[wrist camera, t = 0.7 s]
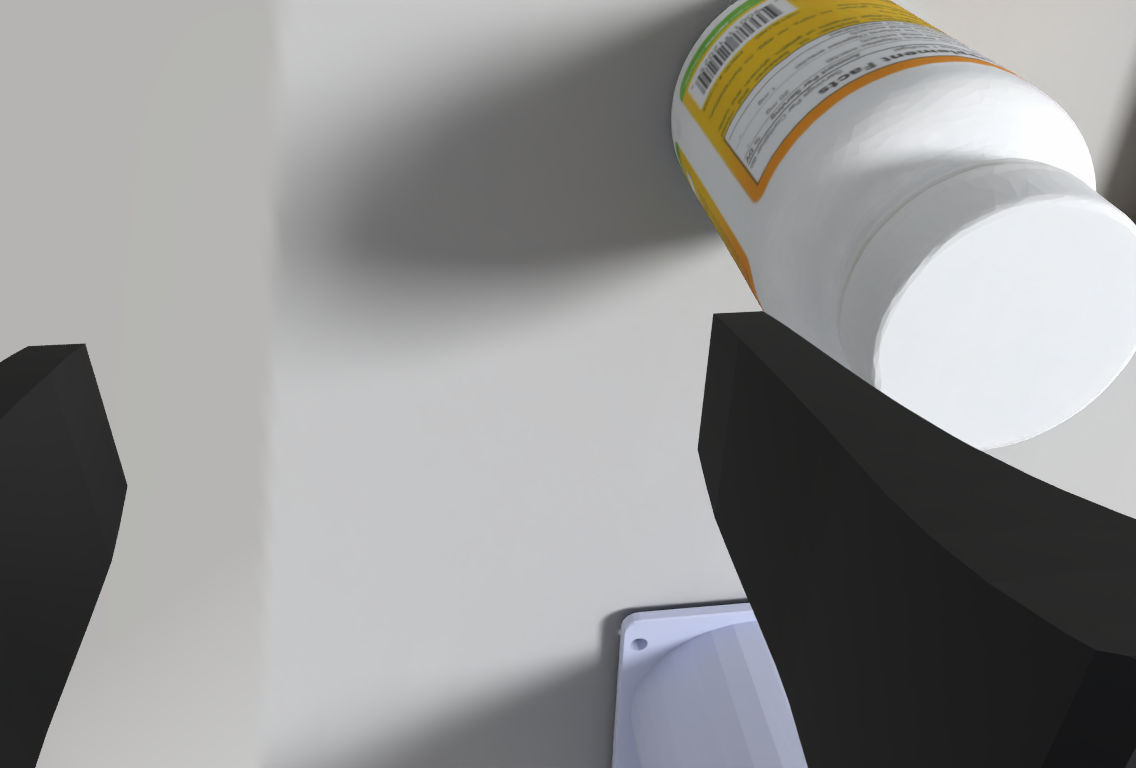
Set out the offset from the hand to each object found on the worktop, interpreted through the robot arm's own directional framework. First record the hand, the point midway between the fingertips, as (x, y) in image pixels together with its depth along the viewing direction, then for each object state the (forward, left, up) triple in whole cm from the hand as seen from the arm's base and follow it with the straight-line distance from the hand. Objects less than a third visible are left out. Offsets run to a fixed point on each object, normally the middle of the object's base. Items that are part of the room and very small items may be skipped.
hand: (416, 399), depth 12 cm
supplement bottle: (0, -8, -11) cm, 13 cm away
